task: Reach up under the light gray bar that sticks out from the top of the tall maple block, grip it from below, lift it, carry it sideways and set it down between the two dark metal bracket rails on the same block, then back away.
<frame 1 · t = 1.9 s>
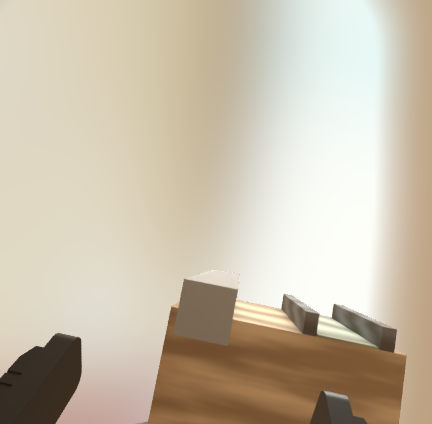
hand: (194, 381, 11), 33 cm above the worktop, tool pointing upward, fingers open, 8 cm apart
light gray bar: (215, 310, 34), point 32 cm above the worktop, touching maple block
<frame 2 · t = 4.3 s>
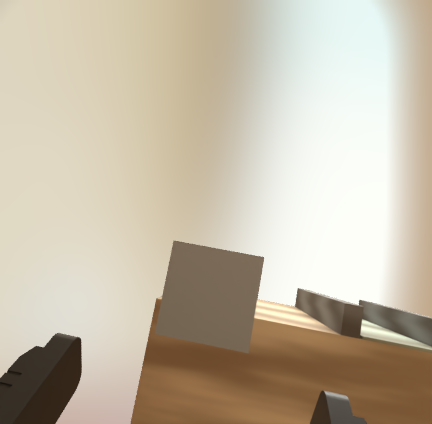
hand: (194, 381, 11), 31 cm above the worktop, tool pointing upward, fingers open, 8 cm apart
light gray bar: (216, 305, 25), point 32 cm above the worktop, touching maple block
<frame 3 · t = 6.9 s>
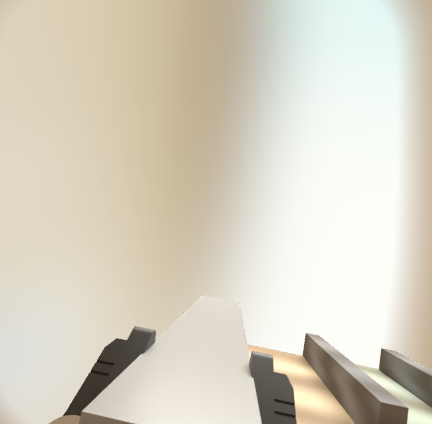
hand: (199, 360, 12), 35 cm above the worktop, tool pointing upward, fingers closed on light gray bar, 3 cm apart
light gray bar: (200, 386, 19), point 32 cm above the worktop, touching gripper, maple block
when the fingers open (36 cm above the worktop, at t = 10.9 s): light gray bar stays where it is, resting on maple block.
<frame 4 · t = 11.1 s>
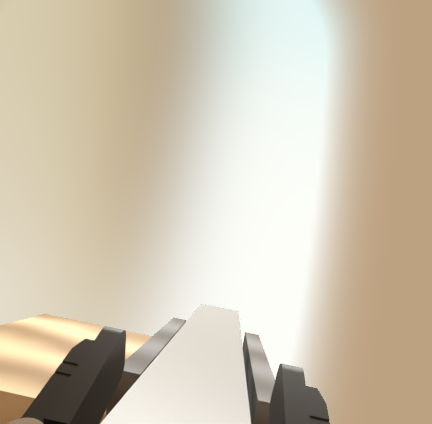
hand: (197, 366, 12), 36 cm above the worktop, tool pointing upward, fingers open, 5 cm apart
light gray bar: (198, 402, 18), point 32 cm above the worktop, touching maple block
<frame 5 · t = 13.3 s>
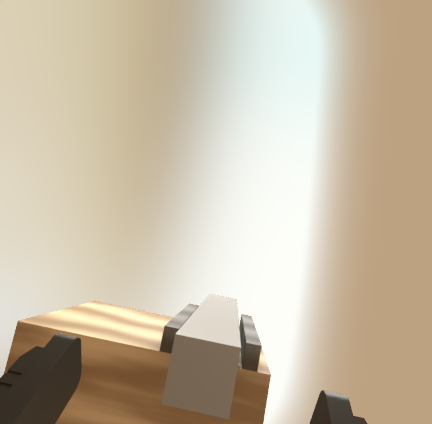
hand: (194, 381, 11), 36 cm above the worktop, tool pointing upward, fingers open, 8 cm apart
light gray bar: (211, 349, 30), point 32 cm above the worktop, touching maple block
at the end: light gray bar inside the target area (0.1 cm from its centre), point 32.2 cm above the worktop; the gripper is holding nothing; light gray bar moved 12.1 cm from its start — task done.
